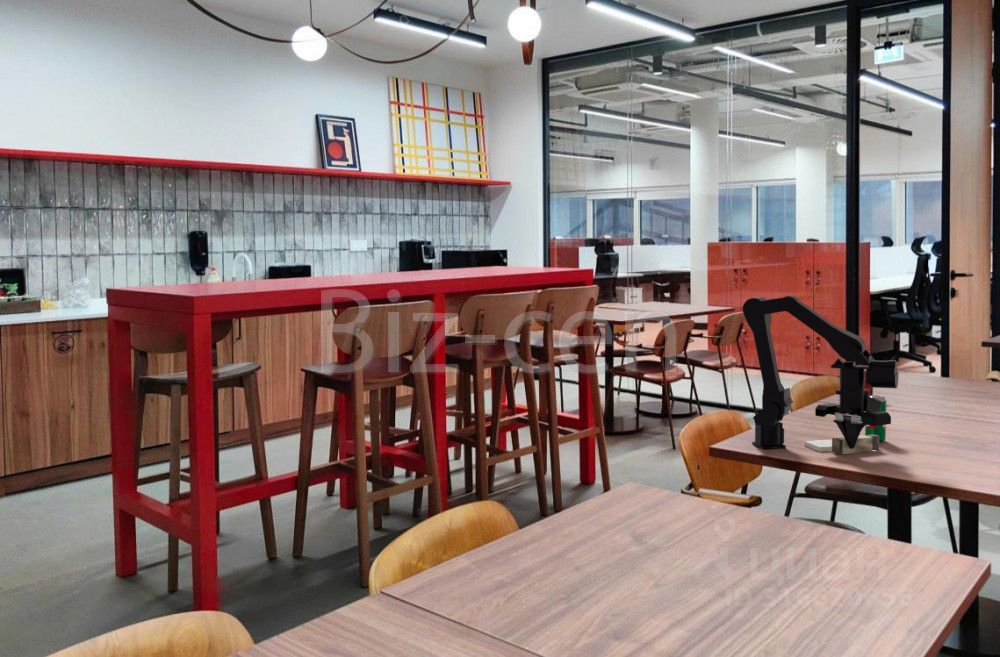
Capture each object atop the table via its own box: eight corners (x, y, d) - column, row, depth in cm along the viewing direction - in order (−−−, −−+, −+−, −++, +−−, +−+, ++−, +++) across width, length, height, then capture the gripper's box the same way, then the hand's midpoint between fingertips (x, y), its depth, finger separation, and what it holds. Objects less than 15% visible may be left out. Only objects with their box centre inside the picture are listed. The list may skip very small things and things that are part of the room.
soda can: (887, 443, 219) (888, 398, 218) (867, 442, 220) (868, 398, 219) (882, 438, 224) (883, 395, 223) (862, 438, 225) (863, 394, 224)
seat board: (827, 455, 207) (827, 450, 207) (804, 445, 218) (804, 441, 217) (884, 451, 210) (884, 446, 210) (858, 442, 221) (858, 437, 221)
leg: (873, 447, 213) (873, 433, 213) (881, 450, 211) (882, 436, 210) (831, 452, 210) (832, 438, 209) (839, 454, 207) (839, 440, 207)
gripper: (907, 388, 200) (906, 451, 201) (845, 380, 217) (844, 439, 218) (874, 391, 196) (874, 456, 197) (813, 383, 213) (813, 443, 213)
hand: (851, 448), depth 206 cm, fingers closed
